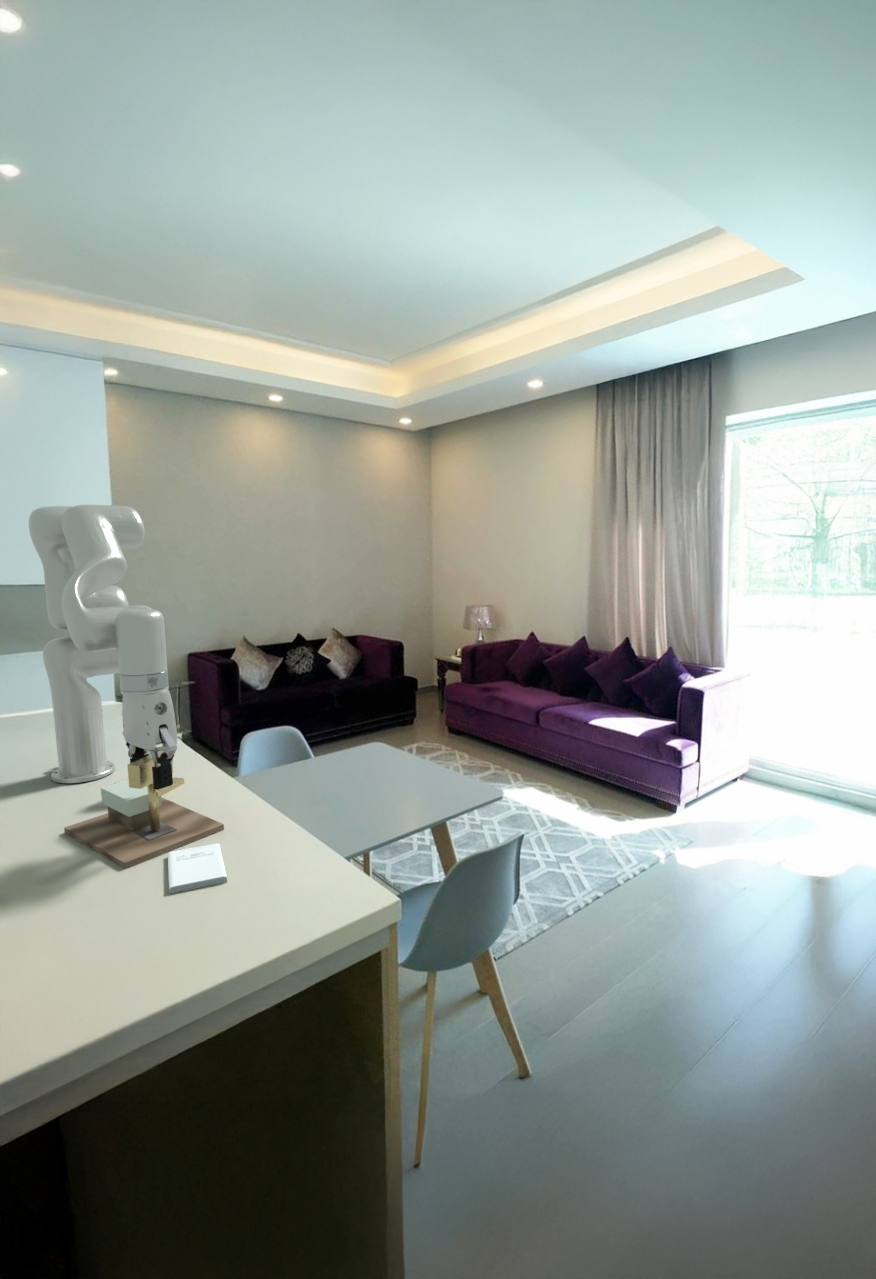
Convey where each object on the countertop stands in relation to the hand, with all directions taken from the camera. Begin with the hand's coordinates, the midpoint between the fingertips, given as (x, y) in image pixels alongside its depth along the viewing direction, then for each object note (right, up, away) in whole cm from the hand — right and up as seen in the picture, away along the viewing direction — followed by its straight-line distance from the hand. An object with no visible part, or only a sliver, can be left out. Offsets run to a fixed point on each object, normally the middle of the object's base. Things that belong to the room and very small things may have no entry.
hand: (152, 781), depth 112 cm
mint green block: (-6, -6, +6) cm, 10 cm away
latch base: (-3, -10, +4) cm, 11 cm away
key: (0, -8, +3) cm, 9 cm away
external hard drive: (+12, -12, -10) cm, 20 cm away
